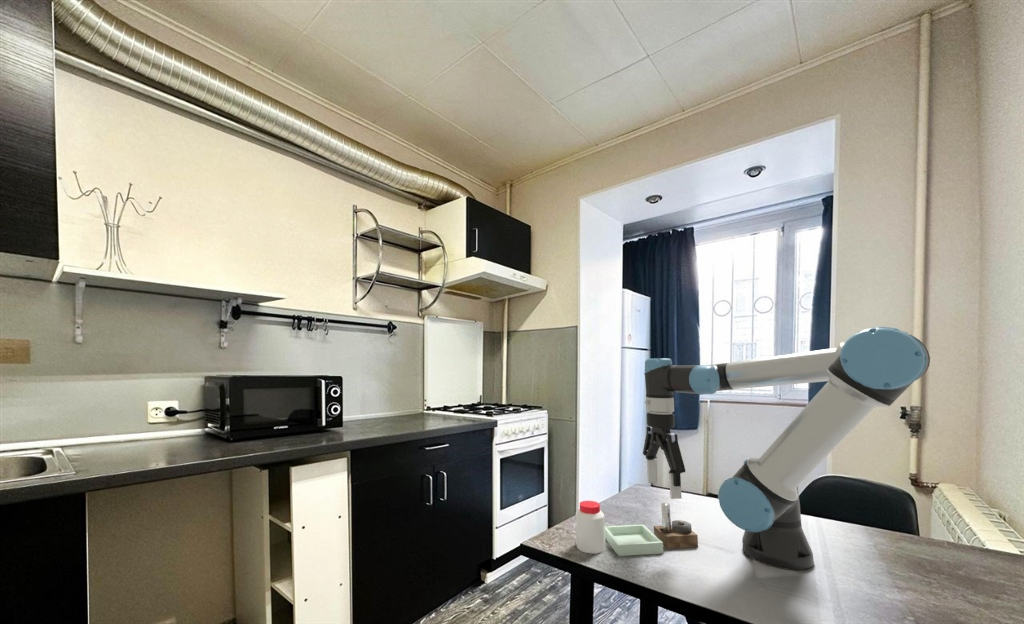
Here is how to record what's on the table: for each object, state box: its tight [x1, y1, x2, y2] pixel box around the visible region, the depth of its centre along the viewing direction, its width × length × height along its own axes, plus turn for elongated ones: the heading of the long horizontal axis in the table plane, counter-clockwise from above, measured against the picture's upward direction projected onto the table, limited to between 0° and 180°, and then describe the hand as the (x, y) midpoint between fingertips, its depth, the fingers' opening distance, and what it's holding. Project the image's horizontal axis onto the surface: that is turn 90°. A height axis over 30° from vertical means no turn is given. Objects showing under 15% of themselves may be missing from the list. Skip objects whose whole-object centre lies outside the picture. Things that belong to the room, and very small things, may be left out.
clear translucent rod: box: [661, 502, 672, 534], centre depth 110 cm, size 2×2×10 cm
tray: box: [605, 523, 664, 557], centre depth 109 cm, size 12×12×3 cm
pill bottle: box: [575, 500, 607, 554], centre depth 108 cm, size 8×8×11 cm
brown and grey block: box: [653, 519, 699, 549], centre depth 110 cm, size 9×7×5 cm
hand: (663, 490), depth 112 cm, fingers open, 13 cm apart
